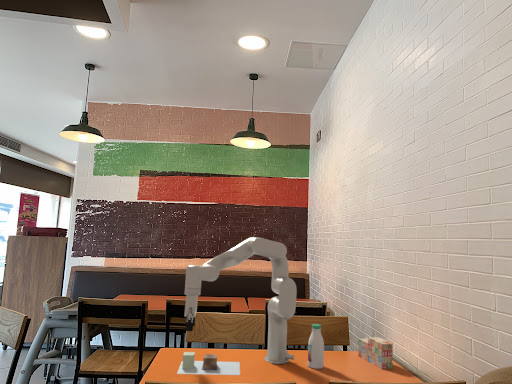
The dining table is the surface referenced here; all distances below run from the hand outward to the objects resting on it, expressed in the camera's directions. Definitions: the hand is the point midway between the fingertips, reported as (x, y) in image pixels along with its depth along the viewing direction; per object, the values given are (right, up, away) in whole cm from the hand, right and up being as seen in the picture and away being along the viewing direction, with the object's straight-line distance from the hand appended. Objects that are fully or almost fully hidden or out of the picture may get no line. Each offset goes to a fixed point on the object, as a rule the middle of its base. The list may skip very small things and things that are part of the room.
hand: (190, 328), depth 183 cm
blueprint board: (+9, -18, -1) cm, 21 cm away
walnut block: (+9, -18, -1) cm, 20 cm away
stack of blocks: (+93, -25, +19) cm, 98 cm away
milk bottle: (+60, -22, +8) cm, 65 cm away
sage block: (-1, -17, -2) cm, 17 cm away
